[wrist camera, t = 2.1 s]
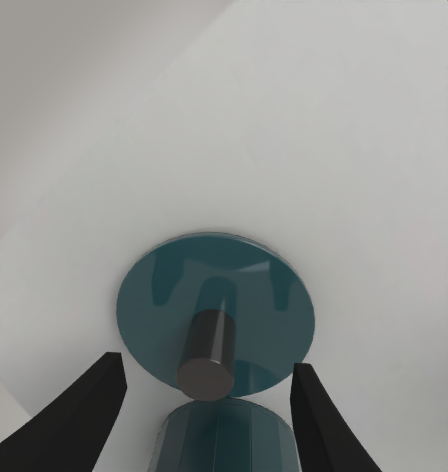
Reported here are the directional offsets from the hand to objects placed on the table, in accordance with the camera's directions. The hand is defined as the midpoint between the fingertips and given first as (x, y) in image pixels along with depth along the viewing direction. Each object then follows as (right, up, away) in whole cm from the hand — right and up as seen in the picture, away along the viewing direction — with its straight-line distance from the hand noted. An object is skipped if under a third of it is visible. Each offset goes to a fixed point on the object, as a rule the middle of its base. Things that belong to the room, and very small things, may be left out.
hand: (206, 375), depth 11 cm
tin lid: (0, +1, +3) cm, 3 cm away
